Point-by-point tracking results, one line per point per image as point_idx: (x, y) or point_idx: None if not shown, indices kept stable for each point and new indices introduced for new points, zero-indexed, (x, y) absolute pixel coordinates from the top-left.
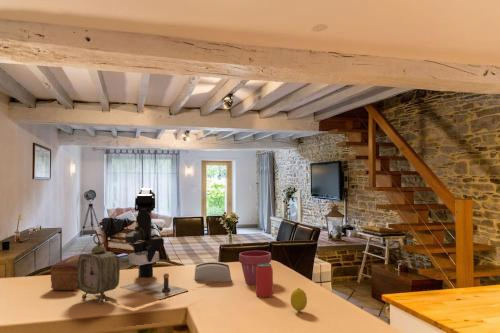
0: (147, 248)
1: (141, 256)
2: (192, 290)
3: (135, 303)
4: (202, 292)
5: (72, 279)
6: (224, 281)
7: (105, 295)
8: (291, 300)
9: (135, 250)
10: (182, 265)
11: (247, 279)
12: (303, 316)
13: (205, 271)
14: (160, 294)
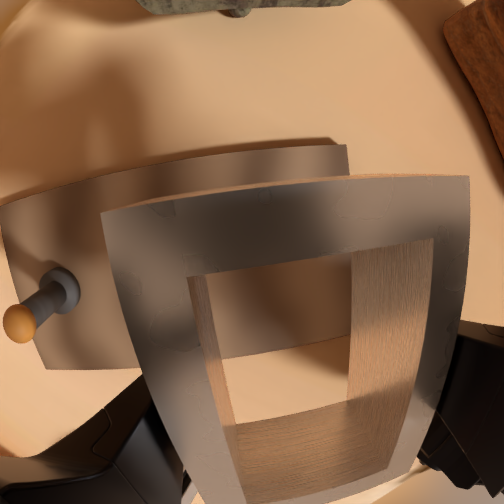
0: (41, 471)
1: (121, 259)
2: (59, 384)
3: (43, 93)
4: (22, 383)
5: (466, 9)
6: None
7: (233, 11)
8: None
9: (493, 337)
10: (402, 479)
11: None
12: None
13: None
14: (31, 233)
